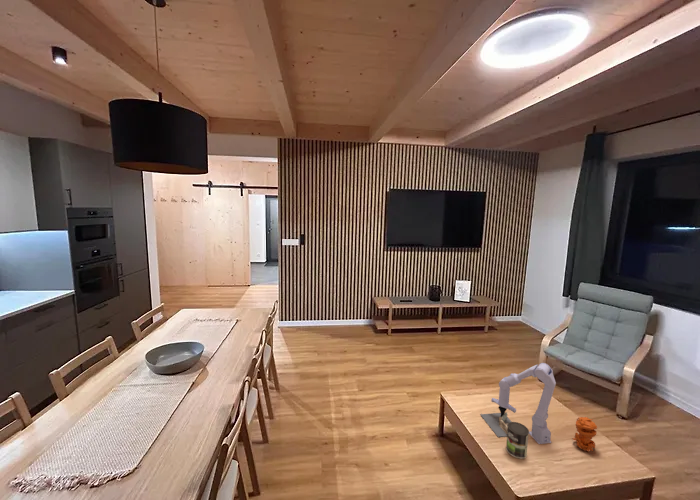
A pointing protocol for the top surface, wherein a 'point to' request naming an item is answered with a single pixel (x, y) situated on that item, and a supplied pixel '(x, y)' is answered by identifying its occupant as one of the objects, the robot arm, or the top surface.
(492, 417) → the card
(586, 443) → the toy dinosaur
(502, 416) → the fence gate
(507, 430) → the fixed fence
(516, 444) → the coffee can
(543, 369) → the robot arm
